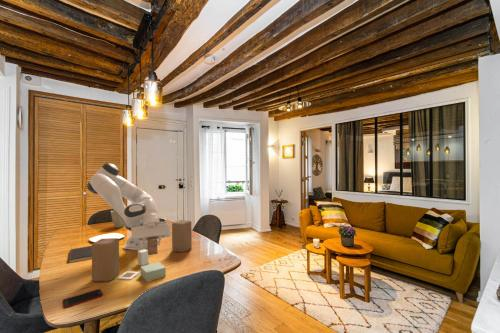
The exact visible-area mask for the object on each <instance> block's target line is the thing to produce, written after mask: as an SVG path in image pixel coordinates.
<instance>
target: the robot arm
mask: <svg viewBox="0 0 500 333" xmlns="http://www.w3.org/2000/svg"><path fill="white" fill-rule="evenodd" d="M101 166H102V167H100V168H99V169H98V170H97V171H96V172H95V173H94V174H93V175H92V176H91V178H90V179H89V181H88V182H87V184H86V189H87V190H88V191H89V192H91V193H92V194H94V195H98V196H100V198H102V199H103V201H104V202H106V203H107V204H108V205H109V207H111V208H112V209H113V210H114V211H115V212H116V213H117V214H118V215H119V216H120V217H121V219H122V220H123V221H124V224H125V225H124V227H125V229H126V230H128V231H129V232H131V235H130V236H129V237H128V238H127V240H126V242H125V244H124V245H123V246H122V249H124V250H125V249H126V250H132V251H140V250H143V249H146V250H148V238H153V237H157V246H160V245H161V241H162V239H163V238H169V237H171V235H172V230H171V227H170V225H169V223H168V220H167V218H162V217H159V216H158V205H157V203H156V201H155V200H154V198H153V196H152V195H151V194H149V193H148V192H146V191H144V190H143V189H141V188H140V187H138V186H137V185H135V184H133V183H132V182H130V181H129V180H127V179H126V178H125V177H122V176H120V170H119V168H118V166H116V165H115V164H114V163H110V162H106V163H103V165H101ZM123 198H124V199H126V200H128V201H129V202H132V204H129V205H126V204H125V203H124V201H123Z"/></svg>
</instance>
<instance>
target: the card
mask: <svg viewBox="0 0 500 333" xmlns="http://www.w3.org/2000/svg"><path fill="white" fill-rule="evenodd" d="M139 274H141V271H130V270H128V271H124V272H123V273H121V275H119V276H117V278H116V280H127V281H128V280H129V281H131V280H133V279H134V278H136V277H137V276H138V275H139Z"/></svg>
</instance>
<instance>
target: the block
mask: <svg viewBox="0 0 500 333" xmlns="http://www.w3.org/2000/svg"><path fill="white" fill-rule="evenodd" d="M192 236H193V235H192V221H191V220H185V219H180V220H177V221H176V220H175V221H174V222H172V223H171V242H172V244H171V250H172V251H173V252H178V253H179V252H180V253H184V252H187V251H188V250H191V249H192V247H193V246H192V244H193V243H192Z"/></svg>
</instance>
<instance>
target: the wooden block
mask: <svg viewBox="0 0 500 333" xmlns="http://www.w3.org/2000/svg"><path fill="white" fill-rule="evenodd" d="M91 246H92V258H91V280H92V282H96V283H97V282H110V281H113V279H114V278H116V277H118V275H119V274H120V239H118V238H106V239H100V240H98V241H97V242H92V244H91Z"/></svg>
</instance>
